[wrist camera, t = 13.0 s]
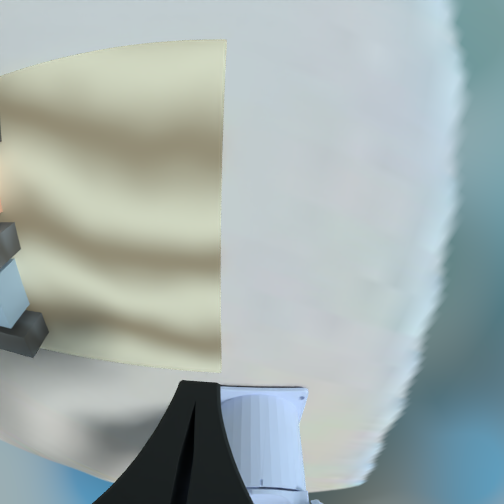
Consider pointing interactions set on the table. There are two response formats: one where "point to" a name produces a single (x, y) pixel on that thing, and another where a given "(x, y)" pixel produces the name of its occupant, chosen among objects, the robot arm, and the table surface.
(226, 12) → the table surface
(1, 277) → the slate-blue plug
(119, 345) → the comb board
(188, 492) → the robot arm
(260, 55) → the table surface
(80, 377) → the table surface
